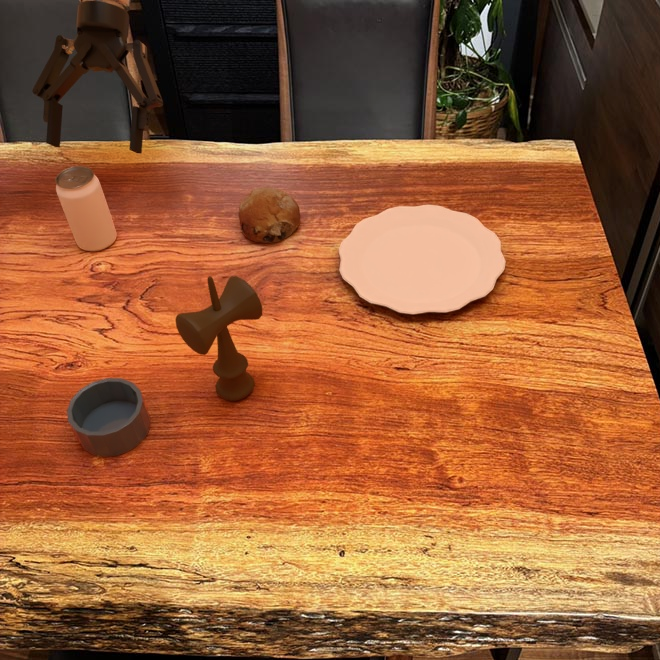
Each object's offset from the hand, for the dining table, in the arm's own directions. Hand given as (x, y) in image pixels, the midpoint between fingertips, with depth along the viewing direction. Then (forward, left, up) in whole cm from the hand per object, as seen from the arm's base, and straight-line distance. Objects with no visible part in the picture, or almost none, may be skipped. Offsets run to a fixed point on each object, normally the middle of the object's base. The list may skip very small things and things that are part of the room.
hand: (94, 148), depth 124 cm
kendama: (+39, -25, -12) cm, 48 cm away
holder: (+28, -37, -12) cm, 48 cm away
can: (+2, -7, -12) cm, 14 cm away
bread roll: (+26, +7, -12) cm, 29 cm away
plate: (+52, +8, -12) cm, 54 cm away
